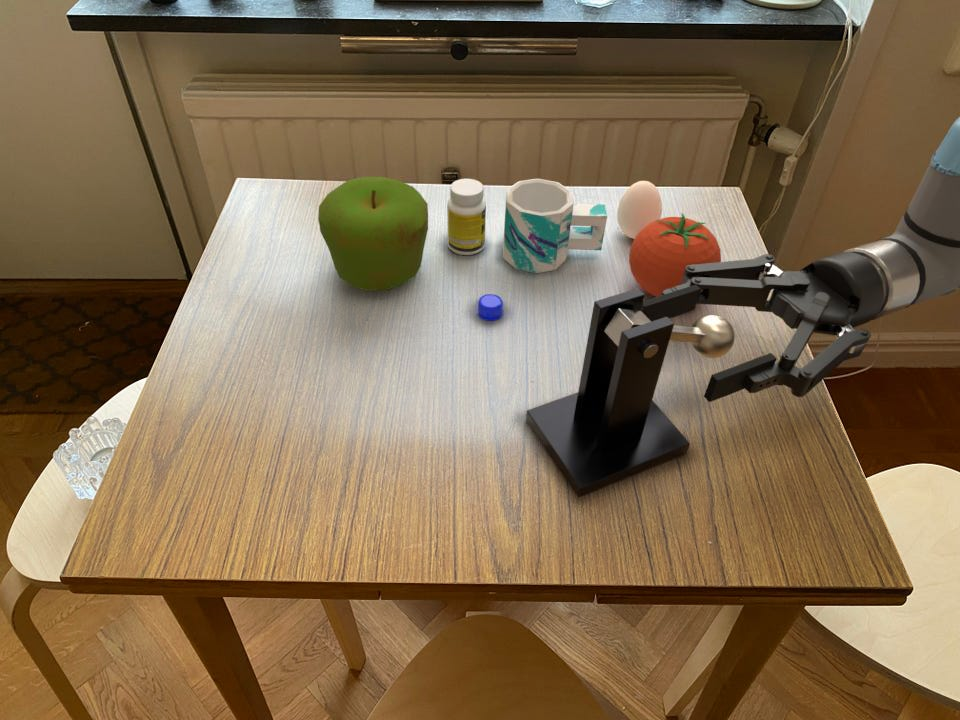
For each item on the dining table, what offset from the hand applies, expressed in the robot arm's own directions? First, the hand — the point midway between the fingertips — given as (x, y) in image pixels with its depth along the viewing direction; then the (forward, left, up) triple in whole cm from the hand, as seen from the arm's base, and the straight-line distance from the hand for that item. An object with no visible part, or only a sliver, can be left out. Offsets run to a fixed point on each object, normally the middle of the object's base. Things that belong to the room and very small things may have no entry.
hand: (673, 350), depth 63 cm
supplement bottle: (+34, +5, -10) cm, 36 cm away
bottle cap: (+21, +8, -10) cm, 24 cm away
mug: (+28, -4, -10) cm, 30 cm away
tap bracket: (0, +6, -9) cm, 11 cm away
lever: (0, +1, 0) cm, 1 cm away
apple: (+33, +17, -10) cm, 38 cm away
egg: (+27, -16, -10) cm, 33 cm away
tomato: (+16, -13, -10) cm, 23 cm away
